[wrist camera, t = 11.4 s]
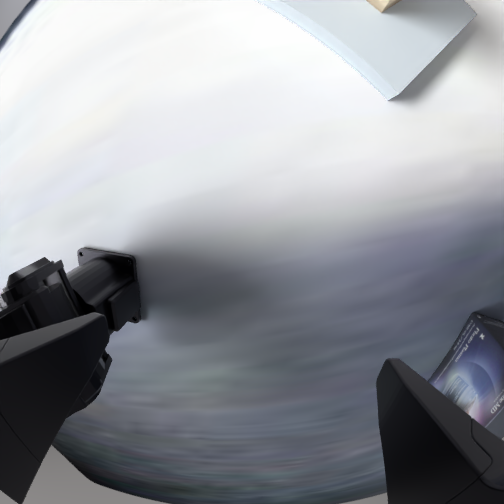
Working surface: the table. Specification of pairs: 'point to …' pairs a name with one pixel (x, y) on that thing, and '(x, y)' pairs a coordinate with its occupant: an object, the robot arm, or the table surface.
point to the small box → (476, 372)
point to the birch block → (382, 4)
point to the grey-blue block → (380, 34)
